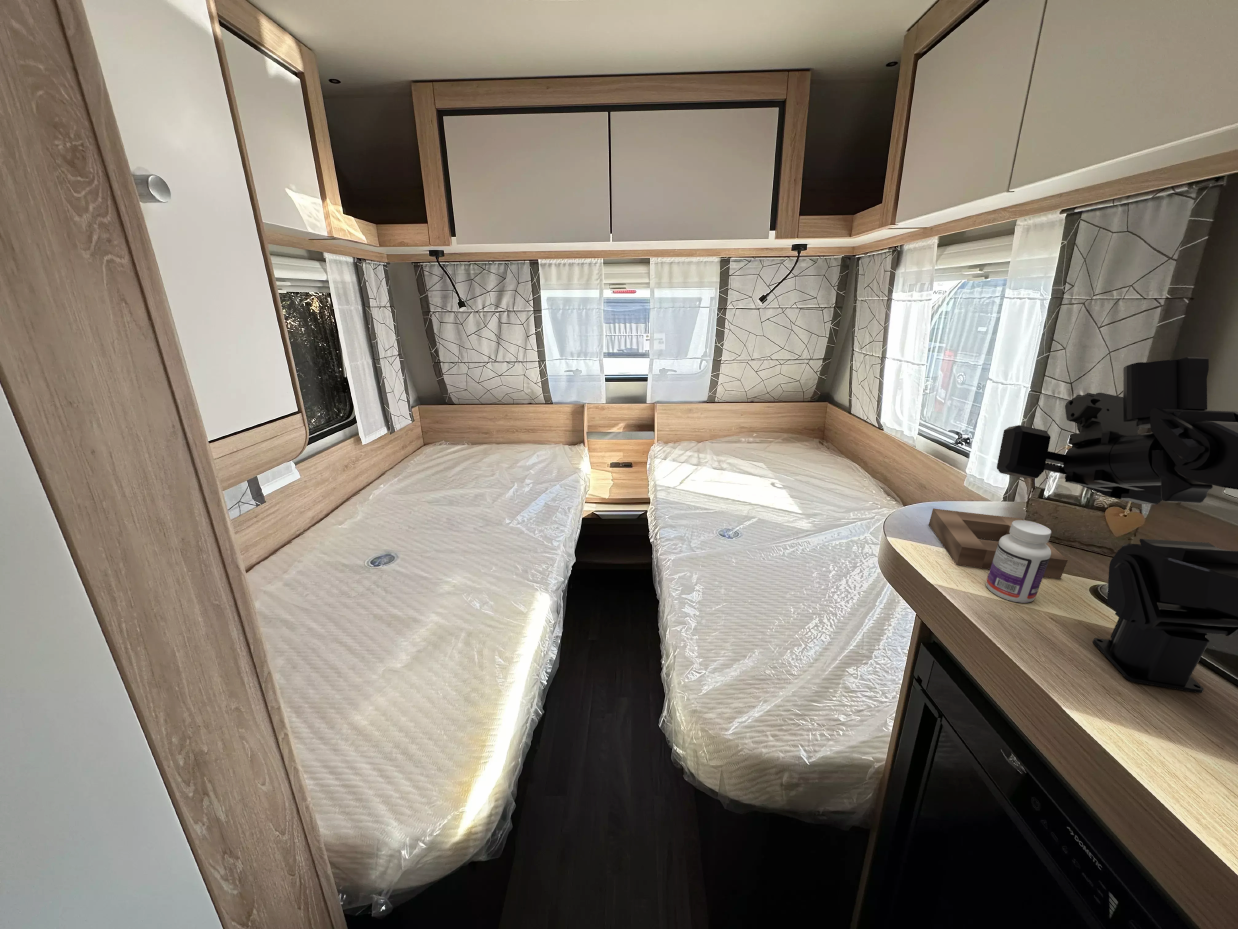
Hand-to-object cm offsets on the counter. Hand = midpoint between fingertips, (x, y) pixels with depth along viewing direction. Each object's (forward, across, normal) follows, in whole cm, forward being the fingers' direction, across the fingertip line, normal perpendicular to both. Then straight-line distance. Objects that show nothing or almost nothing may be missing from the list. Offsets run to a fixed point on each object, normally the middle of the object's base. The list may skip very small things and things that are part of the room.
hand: (1032, 468), depth 73 cm
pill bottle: (-4, +3, +18) cm, 19 cm away
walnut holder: (+6, 0, +12) cm, 14 cm away
